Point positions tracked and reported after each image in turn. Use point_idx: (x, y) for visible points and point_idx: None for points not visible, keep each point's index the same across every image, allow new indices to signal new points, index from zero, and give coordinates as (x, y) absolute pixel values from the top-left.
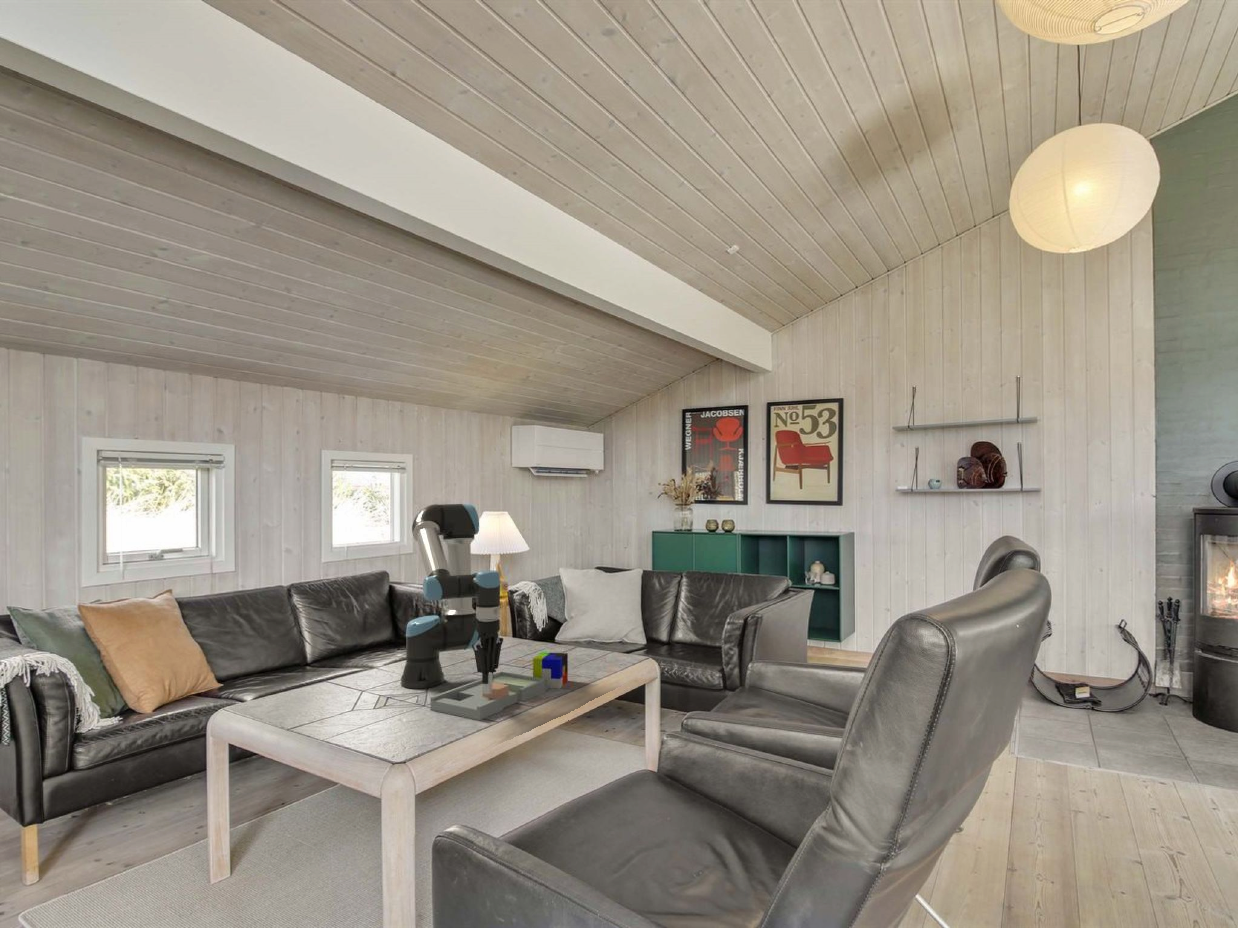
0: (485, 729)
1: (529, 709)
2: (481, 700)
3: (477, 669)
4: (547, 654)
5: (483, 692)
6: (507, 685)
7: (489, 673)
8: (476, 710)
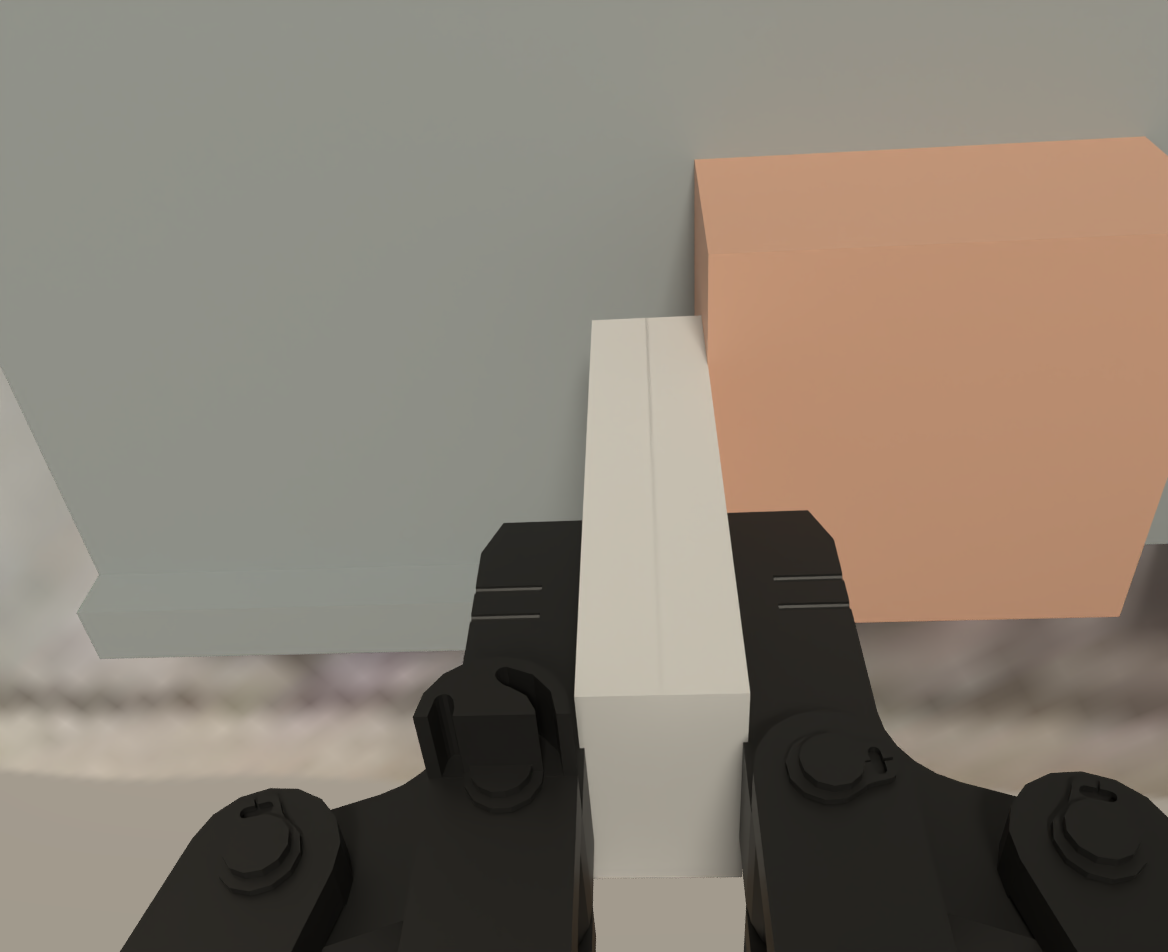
0: (59, 726)
1: (879, 714)
2: (482, 323)
3: (152, 919)
4: None
5: (593, 340)
6: (1100, 599)
7: (624, 855)
8: (104, 562)
